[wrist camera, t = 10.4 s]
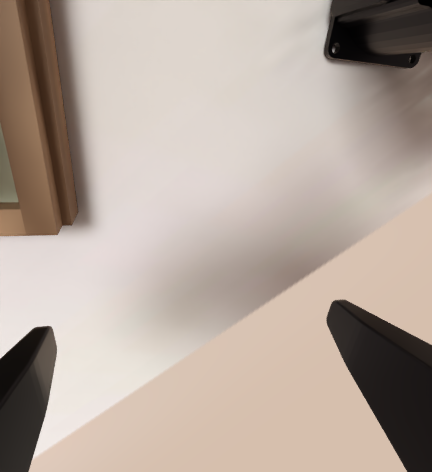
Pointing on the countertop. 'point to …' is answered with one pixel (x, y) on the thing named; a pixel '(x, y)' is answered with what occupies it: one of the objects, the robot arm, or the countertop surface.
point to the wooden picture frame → (32, 125)
